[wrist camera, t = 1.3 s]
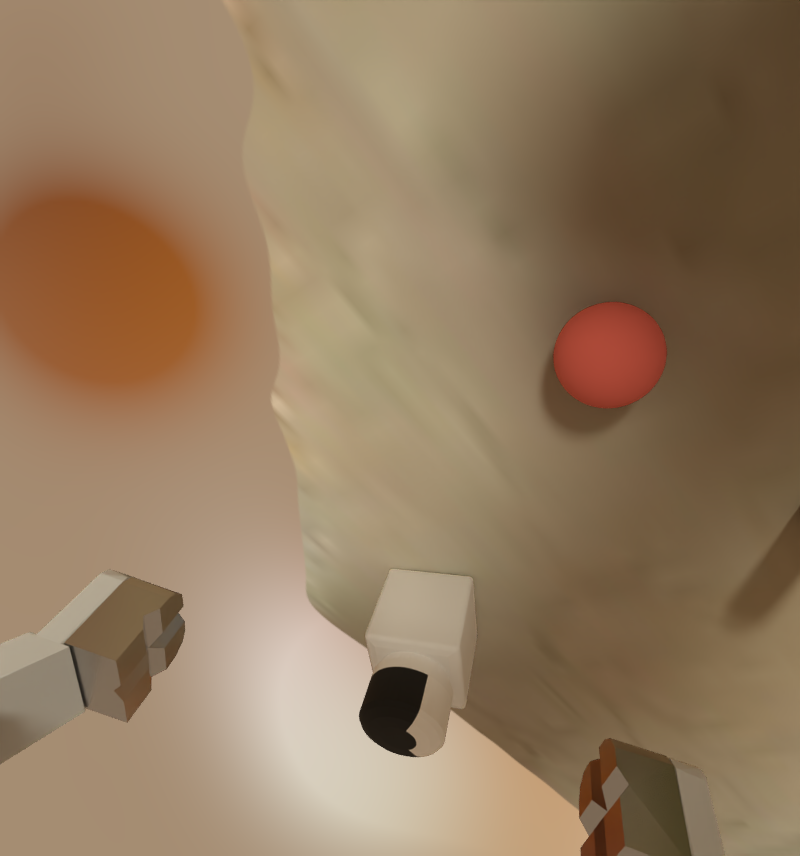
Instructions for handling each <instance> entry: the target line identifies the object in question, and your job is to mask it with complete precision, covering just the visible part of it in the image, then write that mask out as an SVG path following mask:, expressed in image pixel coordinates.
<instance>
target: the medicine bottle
mask: <svg viewBox="0 0 800 856" xmlns="http://www.w3.org/2000/svg"><path fill="white" fill-rule="evenodd" d="M365 639H366V644H367V648H368V652H369V657H370V661H371V666H372V670H373V674H372V677H371V680H370V683H369V686H368V689H367V692H366V695H365V698H364V701H363V704H362V707H361V710H360V713H359V719H360V722H361V725H362V728H363V730H364V731H365V733H366V734H367V735H368V736H369V738H370V739H372V740H373V741H374V742H375V743H377V744H378V745H380V746H381V747H383V748H385V749H386V750H388V751H390V752H393V753H396V754H399V755H404V756H410V757H424V756H428V755H431V754H433V753H435V752H436V751H437V750H439V749H440V748H441V747H442V746H443V744H444V741H445V736H446V730H447V725H448V720H449V714H450V709H451V707H452V708H457V709H463V708H465V706H466V703H467V697H468V690H469V684H470V678H471V672H472V666H473V660H474V654H475V648H476V642H477V622H476V609H475V596H474V583H473V578H472V577H470V576H460V575H451V574H441V573H431V572H421V571H411V570H402V569H390V571H389V572H388V575H387V578H386V580H385V583H384V586H383V588H382V591H381V594H380V596H379V599H378V601H377V604H376V607H375V609H374V612H373V615H372V617H371V620H370V623H369V625H368V628H367V630H366V633H365Z"/></svg>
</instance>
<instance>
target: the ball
mask: <svg viewBox="0 0 800 856" xmlns="http://www.w3.org/2000/svg"><path fill="white" fill-rule="evenodd" d="M553 356H554V367H555V372H556V375H557V377H558V379H559V381H560V383H561V385H562V386H563V387H564V389H565V390H566V391H567V392H568V393H569V394H570V395H571V396H573V397H574V398H575V399H577V400H578V401H580V402H582V403H584V404H587V405H590V406H593V407H598V408H617V407H622V406H626V405H628V404H631V403H633V402H635V401H637V400H639V399H640V398H642V397H643V396H645V395H646V394H647V393H648V392H649V391H650V390H651V389H652V388H653V387H654V386H655V385H656V383H657V382H658V380H659V379H660V377H661V375H662V373H663V370H664V368H665V363H666V357H667V348H666V342H665V338H664V335H663V333H662V330H661V329H660V327H659V325H658V324H657V323H656V321H655V320H654V319H653V318H652V317H651V316H650V315H649V314H648V313H646V312H645V311H643V310H641V309H640V308H638V307H635V306H633V305H630V304H627V303H621V302H605V303H600V304H596V305H593V306H590V307H588V308H586V309H584V310H582V311H580V312H579V313H577V314H576V315H575V316H573V317H572V318H571V319H570V320H569V321H568V322H567V323H566V325H565V326H564V327H563V329H562V330H561V332H560V334H559V336H558V338H557V340H556V344H555V348H554V355H553Z"/></svg>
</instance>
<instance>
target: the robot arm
mask: <svg viewBox="0 0 800 856" xmlns="http://www.w3.org/2000/svg"><path fill="white" fill-rule="evenodd" d="M182 607H183V598H182V594H180V593H177V592H174V591H171V590H168V589H165V588H163V587H160V586H157V585H154V584H151V583H148V582H145V581H142V580H140V579H137V578H135V577H132V576H129V575H126V574H123V573H120V572H117V571H114V570H111V569H109V570H107V571H104V572H102V573H100V574H99V575H98V576H97V577H96V578H95V579H94V580H93V581H91V583H90V584H89V585H87V586H86V587H85V588H84V589H83V590H82V591H81V592H80V593H79V594H78V595H77V596H76V597H75V598H74V599H73V600H72V601H71V602H70V603H68V604H67V605H66V606H65V607H64V608H63V609H62V610H61V611H60V612H59V613H58V614H57V615H56V616H55V617H54V618H53V619H52V620H51V621H50V622H49V623H48V624H46V625H45V626H44V627H43V628H42V629H41V630H40V631H39V632H38V633H37V634H35V633H32V632H28V633H25V634H23V635H20V636H18V637H16V638H13V639H11V640H8V641H6V642H4V643H1V644H0V764H1V763H3V762H5V761H6V760H8V759H9V758H11V757H13V756H14V755H16V754H18V753H19V752H21V751H22V750H24V749H26V748H27V747H29V746H30V745H32V744H33V743H35V742H37V741H38V740H40V739H41V738H43V737H45V736H46V735H48V734H50V733H51V732H52V731H54V730H56V729H57V728H59V727H61V726H62V725H64V724H66V723H67V722H69V721H71V720H72V719H74V718H75V717H77V716H79V715H80V714H82V713H83V712H85V708H87V709H89V710H92V711H95V712H98V713H101V714H104V715H107V716H110V717H112V718H115V719H118V720H121V721H124V722H128V721H129V720H130V718H131V717H132V716H133V714H134V713H135V712H136V710H137V709H138V708H139V706H140V705H141V703H142V702H143V701H144V699H145V698H146V697H147V695H148V694H149V693H150V691H151V677H152V676H154V675H156V674H158V673H160V672H162V671H164V670H166V669H167V668H168V666H169V665H170V664H171V662H172V661H173V659H174V658H175V656H176V654H177V652H178V650H179V648H180V646H181V644H182V642H183V638H184V633H185V621H184V620H183V618H182V617H181V616H180V614H179V613H178V612H179V611H180V610H181V608H182ZM599 754H600V759H596V760H593V761H590V762H589V764H588V766H587V767H586V769H585V771H584V773H583V778H582V782H581V786H580V795H579V818H580V820H581V822H582V824H583V826H584V827H585V829H586V831H587V833H588V835H589V837H588V839H587V840H586V841H585V843H584V844H583V846H582V847H581V856H725V852H724V848H723V844H722V840H721V836H720V832H719V827H718V823H717V819H716V815H715V811H714V807H713V803H712V799H711V795H710V791H709V787H708V783H707V779H706V776H705V775H704V773H703V771H702V770H701V769H699V768H698V767H696V766H693V765H690V764H686V763H683V762H680V761H677V760H674V759H671V758H668V757H667V756H665V755H662V754H658V753H655V752H652V751H649V750H646V749H643V748H640V747H636V746H633V745H630V744H627V743H624V742H621V741H618V740H615V739H611V738H608V739H605V740H604V741H603V743H602V744H601V746H600V747H599Z"/></svg>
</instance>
